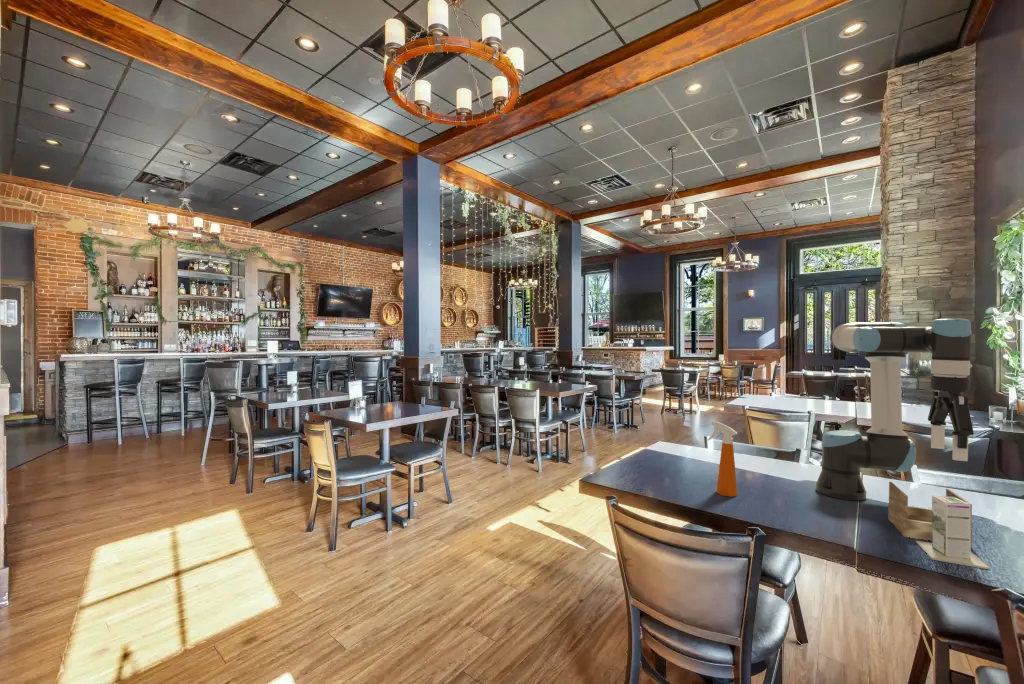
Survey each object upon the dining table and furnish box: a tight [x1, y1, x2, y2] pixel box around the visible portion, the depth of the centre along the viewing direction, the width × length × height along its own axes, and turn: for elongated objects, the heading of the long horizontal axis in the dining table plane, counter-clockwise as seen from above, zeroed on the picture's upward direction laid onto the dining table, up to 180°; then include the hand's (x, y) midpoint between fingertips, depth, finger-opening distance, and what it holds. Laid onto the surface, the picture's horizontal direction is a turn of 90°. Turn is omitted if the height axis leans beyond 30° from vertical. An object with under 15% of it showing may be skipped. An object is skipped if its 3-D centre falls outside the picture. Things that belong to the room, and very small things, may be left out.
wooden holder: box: [887, 481, 973, 549], centre depth 133 cm, size 15×15×12 cm
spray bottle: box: [706, 420, 738, 498], centre depth 166 cm, size 7×11×26 cm, turn 51°
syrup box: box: [931, 495, 972, 559], centre depth 119 cm, size 6×6×14 cm
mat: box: [915, 540, 990, 570], centre depth 119 cm, size 11×11×1 cm
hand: (948, 454), depth 120 cm, fingers open, 13 cm apart
